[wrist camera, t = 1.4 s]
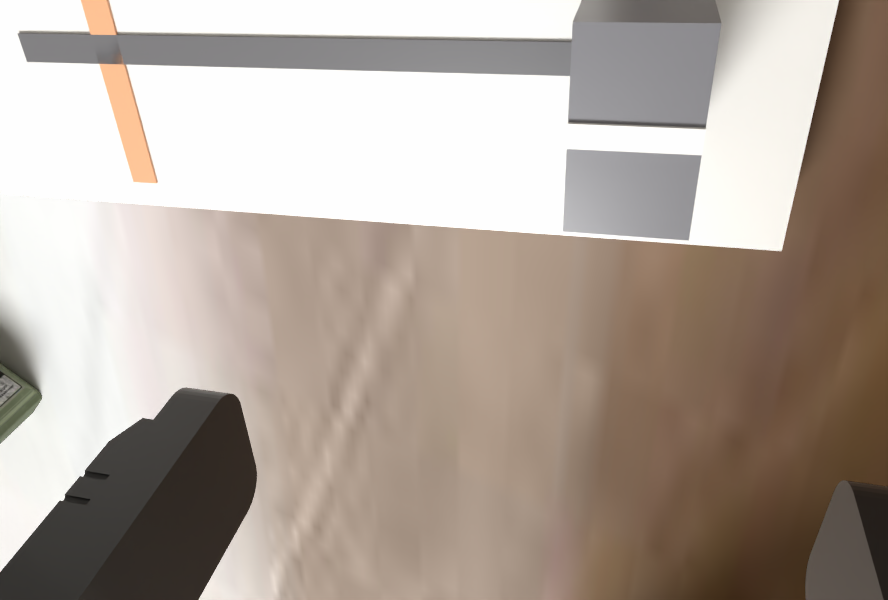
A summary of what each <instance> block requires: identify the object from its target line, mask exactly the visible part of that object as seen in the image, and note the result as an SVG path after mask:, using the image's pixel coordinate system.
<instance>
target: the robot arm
mask: <svg viewBox="0 0 888 600" xmlns="http://www.w3.org/2000/svg"><path fill="white" fill-rule="evenodd" d="M256 481H257V471H256V464H255V460H254V456H253V452H252V448H251V444H250V440H249V436H248V432H247V428H246V424H245V420H244V416H243V412H242V408H241V404H240V401H239V399H238V398H237V397H236V396H235V395H234V394H229V393H221V392H214V391H207V390H200V389H192V388H182V389H180V390H178V391H177V392H176V393H175V394H174V395H173V396H172V397H171V398H170V399H169V401H168V402H167V403H166V405H165V406H164V407H163V408H162V410H161V411H160V412H159V413H158V415H157V416H156V417H155V418H154V420H152V419H145V418H142V419H141V420H139V421H138V422H137V423H135V424H134V425H132V426H131V427H129V428H128V429H126V430H125V431H124V432H122V433H121V434H119V435H118V436H116V437H115V438H113V439H112V440H111V441H109V442H108V443H107V445H106V446H105V447H104V448H103V449H102V451H101V452H100V453H99V454H98V455H97V457H96V458H95V459H94V460H93V461H92V463H91V464H90V465H89V466H88V467H87V469H86V470H85V475H84V476H83V477H81V476H80V477H79V478H78V479H77V481H76V482H75V483H74V484H73V485H72V487H71V488H70V489H69V490H68V491H67V493H66V494H65V499H64V501H59V502H58V504H57V505H56V506H55V507H54V508H53V510H52V511H51V512H50V513H49V514H48V516H47V517H46V518H45V519H44V520H43V522H42V523H41V524H40V525H39V526H38V528H37V529H36V530H35V531H34V532H33V534H32V535H31V536H30V537H29V538H28V540H27V541H26V542H25V543H24V544H23V546H22V547H21V548H20V549H19V550H18V552H17V553H16V554H15V555H14V556H13V558H12V559H11V560H10V561H9V562H8V564H7V565H6V566H5V567H4V568H3V570H2V571H1V572H0V600H198V599H199V598H200V596H201V594H202V592H203V590H204V589H205V587H206V585H207V583H208V582H209V580H210V578H211V576H212V574H213V573H214V571H215V569H216V567H217V565H218V564H219V562H220V560H221V558H222V557H223V555H224V553H225V551H226V549H227V548H228V546H229V544H230V542H231V540H232V539H233V537H234V535H235V533H236V532H237V530H238V528H239V526H240V524H241V523H242V521H243V519H244V517H245V516H246V514H247V512H248V510H249V508H250V506H251V503H252V500H253V497H254V493H255V488H256ZM805 593H806V600H888V486H880V485H873V484H866V483H859V482H851V481H844V480H843V481H841V482H839V483H838V485H837V486H836V488H835V491H834V493H833V496H832V498H831V501H830V504H829V506H828V509H827V512H826V514H825V517H824V520H823V522H822V525H821V527H820V530H819V533H818V535H817V538H816V541H815V543H814V546H813V549H812V551H811V554H810V557H809V560H808V565H807V571H806V583H805Z"/></svg>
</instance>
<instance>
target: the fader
mask: <svg viewBox="0 0 888 600" xmlns="http://www.w3.org/2000/svg"><path fill="white" fill-rule="evenodd" d="M721 24H722V23H721V19H720V16H719V12H718V8H717V5H716V1H715V0H582V1H581V3H580V5H579V8H578V10H577V13H576V15H575V17H574V20H573V25H572V46H571V67H570V88H569V110H568V124H567V144H566V149H567V152H566V173H565V194H564V215H563V232H576V233H590V234H604V235H618V236H632V237H646V238H660V239H674V240H688V241H689V236H690V229H691V223H692V216H693V210H694V203H695V196H696V190H697V183H698V176H699V170H700V163H701V157H702V153H703V146H704V140H705V133H706V123H707V117H708V110H709V104H710V97H711V90H712V84H713V77H714V70H715V64H716V57H717V51H718V44H719V37H720V31H721Z"/></svg>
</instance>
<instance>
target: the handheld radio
mask: <svg viewBox="0 0 888 600" xmlns="http://www.w3.org/2000/svg"><path fill="white" fill-rule="evenodd" d="M41 399H42V396H41V394H40V392H39V391H38V390H37V389H35V388H34V387H33V386H31V385H30V384H28V383H27V382H26V381H24V380H23V379H21V378H20V377H19V376H17V375H16V374H14V373H13V372H12V371H10V370H9V369H7V368H6V367H5V366H3V365H2V364H1V363H0V444H1V443H2V442H3V441H4V440H5V439H6V438H7V437H8V436H9V435H10V434H11V433H12V432H13V431H14V430H15V429H16V428H17V427H18V426H19V425H20V424H21V423H22V422H23V421H24V420H26V419H27V418H28V417H29V416H30V415H31V414H32V413H33V412H34V410H35V409H36V407H37V406H38V404H39V403H40V401H41Z"/></svg>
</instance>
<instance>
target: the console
mask: <svg viewBox="0 0 888 600" xmlns="http://www.w3.org/2000/svg"><path fill="white" fill-rule="evenodd" d="M581 1H582V0H0V188H1V191H2V194H4V195H18V196H32V197H45V198H59V199H73V200H87V201H100V202H114V203H128V204H142V205H155V206H169V207H183V208H197V209H210V210H224V211H238V212H251V213H265V214H279V215H293V216H306V217H320V218H334V219H348V220H361V221H375V222H389V223H403V224H416V225H430V226H444V227H457V228H471V229H485V230H499V231H512V232H526V233H540V234H554V235H567V236H581V237H595V238H609V239H622V240H636V241H650V242H663V243H677V244H691V245H705V246H718V247H732V248H746V249H760V250H773V251H782V247H783V243H784V238H785V234H786V229H787V225H788V221H789V216H790V212H791V208H792V203H793V199H794V194H795V190H796V186H797V181H798V177H799V173H800V168H801V164H802V159H803V155H804V151H805V146H806V142H807V138H808V133H809V129H810V125H811V120H812V116H813V111H814V107H815V103H816V98H817V94H818V90H819V85H820V81H821V76H822V72H823V68H824V63H825V59H826V55H827V50H828V46H829V41H830V37H831V33H832V28H833V24H834V20H835V15H836V11H837V7H838V2H839V0H715V1H716V5H717V8H718V12H719V16H720V19H721V23H722V24H721V31H720V37H719V44H718V51H717V57H716V64H715V70H714V77H713V84H712V90H711V97H710V104H709V110H708V117H707V123H706V133H705V140H704V146H703V153H702V157H701V163H700V170H699V176H698V183H697V190H696V196H695V203H694V210H693V216H692V223H691V229H690V236H689V241H688V240H674V239H660V238H646V237H632V236H618V235H604V234H590V233H576V232H563V215H564V194H565V173H566V152H567V149H566V144H567V124H568V110H569V88H570V67H571V46H572V25H573V20H574V17H575V15H576V13H577V10H578V8H579V5H580V3H581Z"/></svg>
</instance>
